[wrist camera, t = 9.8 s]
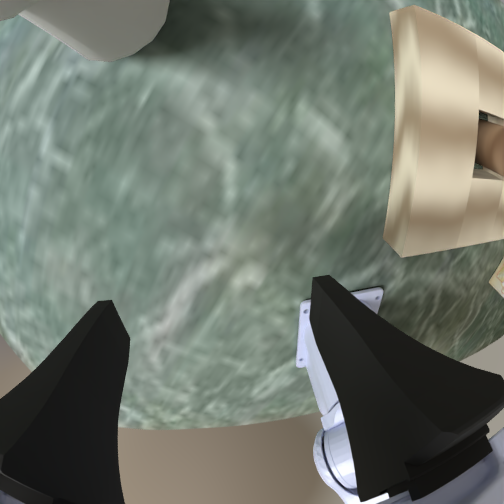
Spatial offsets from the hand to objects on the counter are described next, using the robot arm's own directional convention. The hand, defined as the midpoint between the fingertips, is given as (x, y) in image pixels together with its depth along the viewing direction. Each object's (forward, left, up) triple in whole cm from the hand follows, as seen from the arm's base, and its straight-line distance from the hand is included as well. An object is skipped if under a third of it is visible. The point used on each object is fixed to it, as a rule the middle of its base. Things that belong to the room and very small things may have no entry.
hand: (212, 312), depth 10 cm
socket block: (+5, -22, -10) cm, 25 cm away
